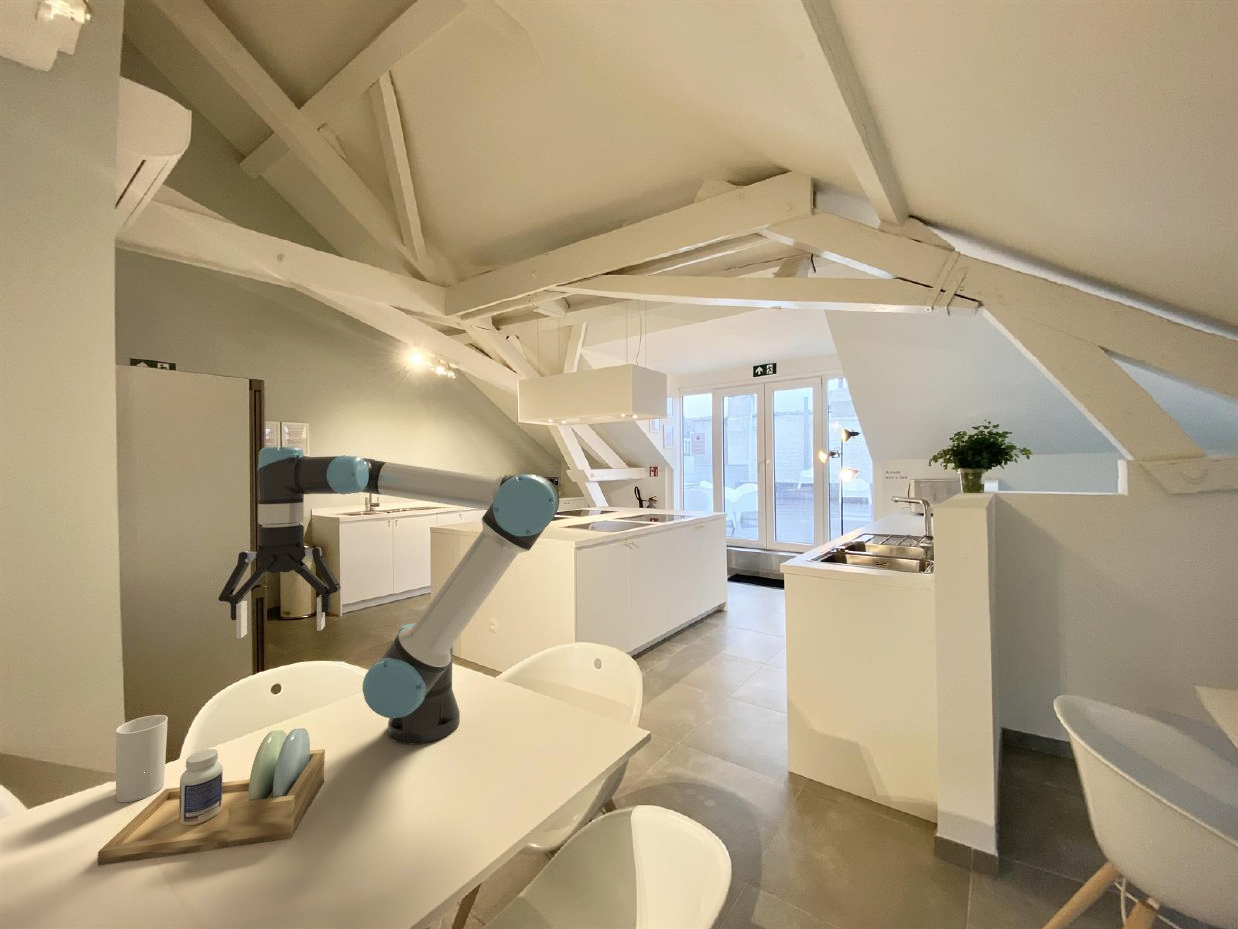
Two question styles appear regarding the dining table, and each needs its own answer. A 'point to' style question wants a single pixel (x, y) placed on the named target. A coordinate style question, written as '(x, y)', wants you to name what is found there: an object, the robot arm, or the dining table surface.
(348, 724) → the dining table surface
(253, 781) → the plate sage
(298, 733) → the plate blue
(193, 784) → the pill bottle
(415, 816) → the dining table surface
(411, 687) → the robot arm
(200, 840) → the dish rack
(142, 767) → the mug
